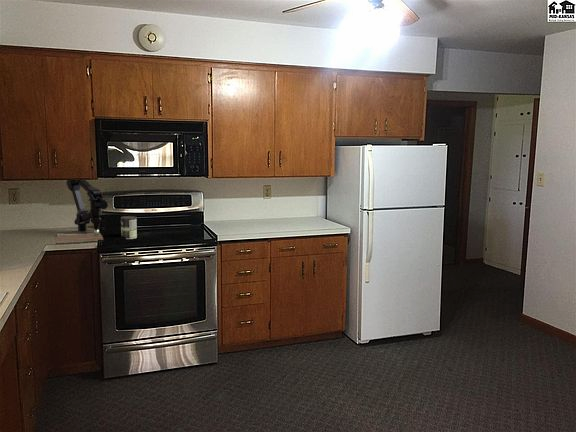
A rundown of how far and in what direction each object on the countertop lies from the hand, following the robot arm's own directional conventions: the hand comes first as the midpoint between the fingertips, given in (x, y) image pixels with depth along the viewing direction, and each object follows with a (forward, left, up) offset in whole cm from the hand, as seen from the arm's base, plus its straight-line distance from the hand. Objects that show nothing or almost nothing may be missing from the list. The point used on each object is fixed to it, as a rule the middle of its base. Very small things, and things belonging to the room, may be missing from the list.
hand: (95, 230), depth 340 cm
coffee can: (+14, +20, -4) cm, 25 cm away
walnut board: (+12, -11, -4) cm, 17 cm away
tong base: (+5, -14, -2) cm, 15 cm away
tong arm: (+6, -9, -2) cm, 11 cm away
